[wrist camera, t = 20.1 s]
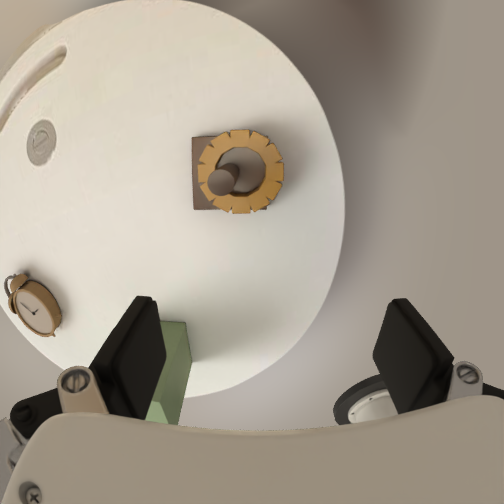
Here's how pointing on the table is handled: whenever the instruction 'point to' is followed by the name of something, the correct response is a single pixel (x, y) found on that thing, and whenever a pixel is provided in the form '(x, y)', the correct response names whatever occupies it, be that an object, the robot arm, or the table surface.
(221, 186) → the peg stand
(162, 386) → the sage green upright pillar
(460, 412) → the robot arm
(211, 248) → the table surface
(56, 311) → the alarm clock
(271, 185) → the brass ring
